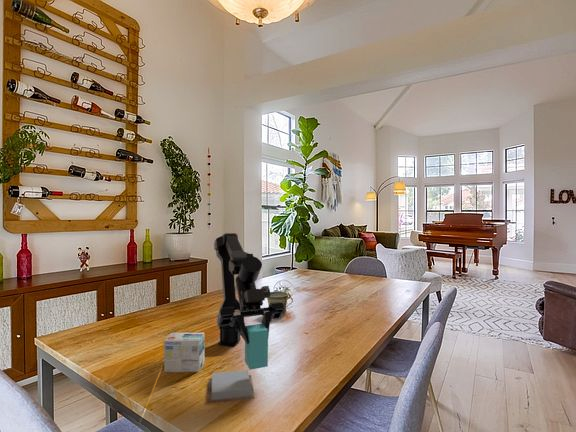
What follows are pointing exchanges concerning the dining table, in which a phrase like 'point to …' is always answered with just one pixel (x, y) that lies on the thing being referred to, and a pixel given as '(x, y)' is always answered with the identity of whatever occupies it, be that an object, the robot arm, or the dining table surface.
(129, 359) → the dining table surface
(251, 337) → the teal block
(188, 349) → the light bulb box
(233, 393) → the grey slab
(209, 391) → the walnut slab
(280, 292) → the olive mug
